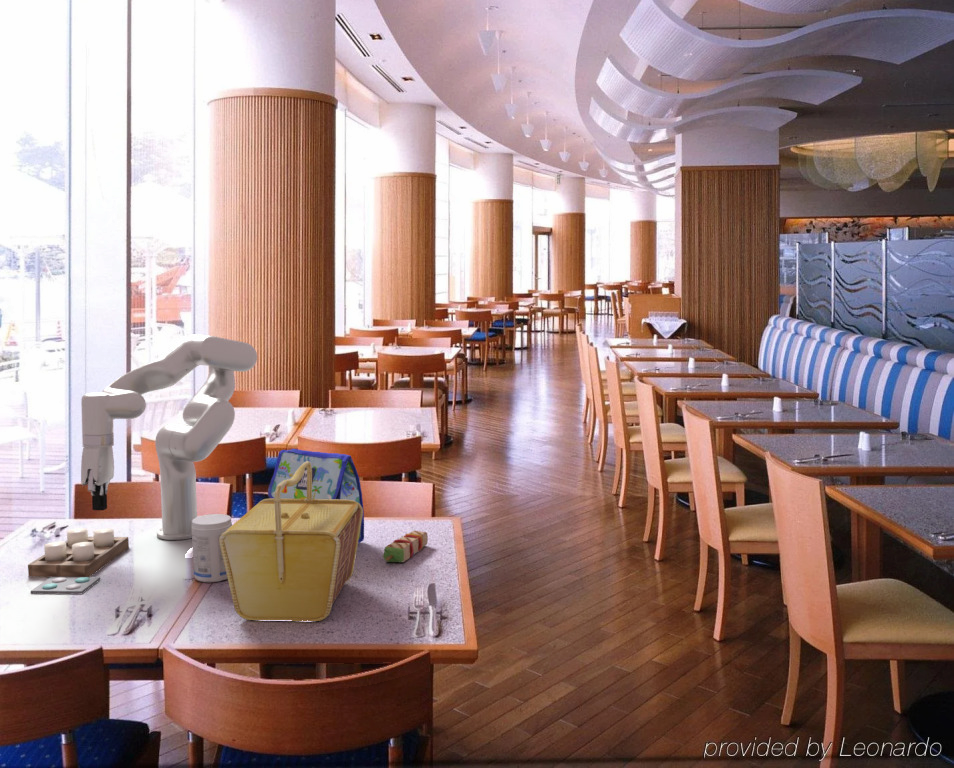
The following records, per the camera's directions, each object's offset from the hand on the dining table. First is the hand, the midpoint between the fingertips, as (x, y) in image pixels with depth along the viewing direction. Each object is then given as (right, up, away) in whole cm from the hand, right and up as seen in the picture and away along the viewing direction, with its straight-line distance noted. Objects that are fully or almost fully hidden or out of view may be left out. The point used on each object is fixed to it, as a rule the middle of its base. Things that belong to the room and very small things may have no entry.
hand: (99, 509), depth 239 cm
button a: (0, -10, +2) cm, 10 cm away
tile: (+1, -15, -22) cm, 27 cm away
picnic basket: (+58, -17, -32) cm, 68 cm away
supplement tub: (+34, -15, -16) cm, 41 cm away
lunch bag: (+55, -11, +11) cm, 57 cm away
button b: (-7, -10, +2) cm, 12 cm away
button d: (-7, -11, -10) cm, 16 cm away
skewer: (+80, -13, +1) cm, 81 cm away
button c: (0, -11, -10) cm, 15 cm away
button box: (-3, -13, -4) cm, 14 cm away
